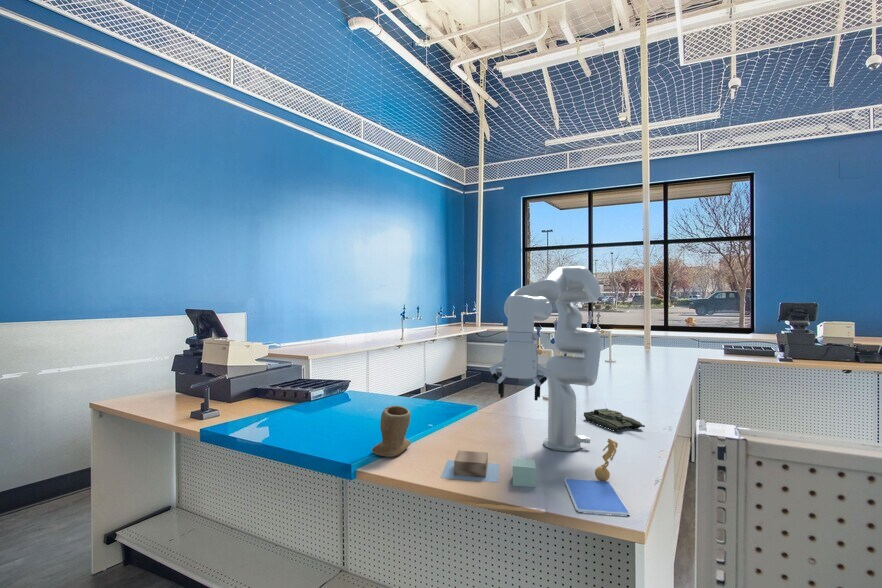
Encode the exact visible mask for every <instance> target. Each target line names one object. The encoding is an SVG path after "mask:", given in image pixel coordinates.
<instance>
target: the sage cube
mask: <svg viewBox="0 0 882 588" xmlns="http://www.w3.org/2000/svg"><path fill="white" fill-rule="evenodd" d="M536 470H537V468H536V461H535V459H527V458H512V486H517V487H530V488H536V473H537V472H536Z"/></svg>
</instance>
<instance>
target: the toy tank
mask: <svg viewBox="0 0 882 588" xmlns="http://www.w3.org/2000/svg"><path fill="white" fill-rule="evenodd" d="M605 407H606V404H605ZM583 417H584V418H585V420H586V421H587V420H588V421H590V422H589V423H591V422H593V423H592V424H594V423H595V424H594V425H596V424H598V425H597V426H599V425H601V426H603V427H602V428H604V427H606V428H609V429H611V430H614V431H613V432H618V431H617V430H619V431H621V430H625V429H630V428H638V429H640V428H645V427H646V426H645V425H644V424H642V423H641V422H640V421H638V420H636V419H635V418H633V417H629V416H626V415H623V413H622V412H620V411H617V410H612V409H609V408H600V409H599V408H598V409H593V410H591V411H586V412H583ZM588 421H587V422H588ZM601 426H600V427H601ZM606 428H605V429H606ZM609 429H608V430H609ZM611 430H610V431H611Z"/></svg>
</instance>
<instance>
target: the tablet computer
mask: <svg viewBox="0 0 882 588" xmlns="http://www.w3.org/2000/svg"><path fill="white" fill-rule="evenodd" d="M563 482H564V484H565V487H566V486H567V487H566V489H567V491H568V493H569V494H568V495H569V496H571V497H570V499H571V502H572V504H573V505H574V506H575V507H574V509H575V511H576V510H577V511H578V512H577V511H576V512H577V513H579V512H586V513H594V514H593V515H599V514H605V515H604V516H607V515H606V514H609V515H608V516H612V515H629V514H630V515H631V512H630V511H629V509H628V508H627V506H626V504H625V503H624V502H623V500H622V499H621V497H620V495H619V494H618V493H617V491H616V490H615V487H613V485H612V483H611V482H609V481H608V480H607V481H600V480H594V479H593V480H592V479H591V480H590V479H589V480H588V479H578V478H576V479H574V478H565V479H564V481H563ZM610 514H611V515H610Z"/></svg>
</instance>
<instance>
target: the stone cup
mask: <svg viewBox="0 0 882 588" xmlns="http://www.w3.org/2000/svg"><path fill="white" fill-rule="evenodd" d="M380 416H381V417H380V427H379V428H380V432H381V440H382V441H380V442H378V443H377V444H375V446H373V447H372V448H371V452H373V454H374V453H375V455H377V456H381V457H389V458H390V457H396V456H398V455H400V454H401V453H403V452H404V451H405V450H406V449H408V447H409V446H411V444H412V442H411V441H410V440H409V439H407V437H406V435H407V431H408V429H409V427H410V423H411V411H410V410H409V409H408V408H406V406H405V407H404V406H401V405H389V406H387V407H385V408H384V409H383V410H382V412H381V415H380Z"/></svg>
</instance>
